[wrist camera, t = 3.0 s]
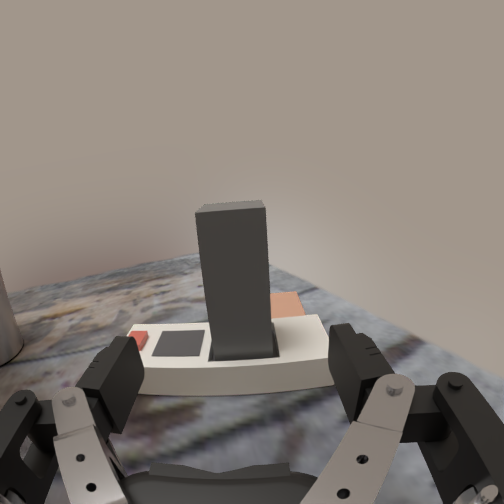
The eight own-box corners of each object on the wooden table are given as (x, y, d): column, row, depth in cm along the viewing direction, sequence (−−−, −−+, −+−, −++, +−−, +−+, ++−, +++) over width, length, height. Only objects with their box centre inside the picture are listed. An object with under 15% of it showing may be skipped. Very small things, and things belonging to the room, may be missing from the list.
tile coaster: (234, 330, 31) (234, 326, 31) (236, 299, 39) (235, 296, 39) (307, 324, 31) (307, 320, 31) (296, 294, 39) (296, 291, 39)
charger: (215, 366, 22) (195, 212, 19) (219, 336, 26) (204, 204, 23) (273, 363, 22) (265, 207, 19) (268, 333, 26) (261, 199, 23)
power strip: (119, 392, 21) (106, 359, 20) (140, 349, 28) (132, 319, 27) (378, 376, 21) (385, 341, 20) (353, 335, 28) (356, 303, 27)
